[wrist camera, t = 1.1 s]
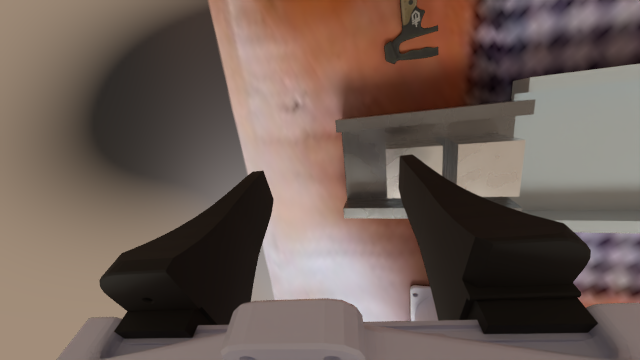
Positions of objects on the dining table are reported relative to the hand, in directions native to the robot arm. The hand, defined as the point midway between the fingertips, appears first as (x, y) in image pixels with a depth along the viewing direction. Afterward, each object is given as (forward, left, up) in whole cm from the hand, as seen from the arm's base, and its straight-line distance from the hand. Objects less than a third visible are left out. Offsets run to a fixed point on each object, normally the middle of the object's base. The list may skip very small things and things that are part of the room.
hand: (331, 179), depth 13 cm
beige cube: (-2, -10, -11) cm, 15 cm away
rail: (-2, -6, -12) cm, 13 cm away
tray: (-2, -19, -12) cm, 23 cm away
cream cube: (-2, -5, -11) cm, 12 cm away
